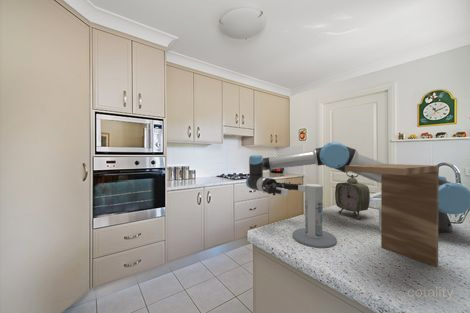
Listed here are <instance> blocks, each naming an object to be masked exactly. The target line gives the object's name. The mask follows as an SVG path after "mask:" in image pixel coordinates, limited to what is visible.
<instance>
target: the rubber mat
mask: <svg viewBox="0 0 470 313" xmlns="http://www.w3.org/2000/svg"><path fill="white" fill-rule="evenodd" d="M292 238H293V239H294V241H295V242H297V243H299V244H301V245H303V246H307V247H312V248H319V249H327V248H332V247H335V246H336V245H337V242H338V240H337V237H336V236H335V235H334V234H333V233H331V232H329V231H326V230H323V229H322V238H320V239H313V238H309V237H307V236H306V234H305V227H301V228H298V229H297V228H296V229H295V230H294V231H292Z"/></svg>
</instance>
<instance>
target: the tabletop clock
mask: <svg viewBox="0 0 470 313" xmlns="http://www.w3.org/2000/svg"><path fill="white" fill-rule="evenodd" d="M345 174H346V176H347V177H349V178H348V179H347V180H346V182H338V183H336V185H335V190H334V198H335V204H336V206H337V207H338V208H339V209H340V210H339V211H338V213H339V214H342V213H343V211H349V212H353V215H354V216H356V219H357V220H361V219H362V218H361V216H360V212H362V211H368V209H369V208H370V200H371V199H370V196H371V195H370V194H371V192H370V188H369V186H368V185H366V184H364V183H360V182H358V179H357V177H359V175H358V174H356V175H354V174H351V175H349V174H348V172H346V173H345Z"/></svg>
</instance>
